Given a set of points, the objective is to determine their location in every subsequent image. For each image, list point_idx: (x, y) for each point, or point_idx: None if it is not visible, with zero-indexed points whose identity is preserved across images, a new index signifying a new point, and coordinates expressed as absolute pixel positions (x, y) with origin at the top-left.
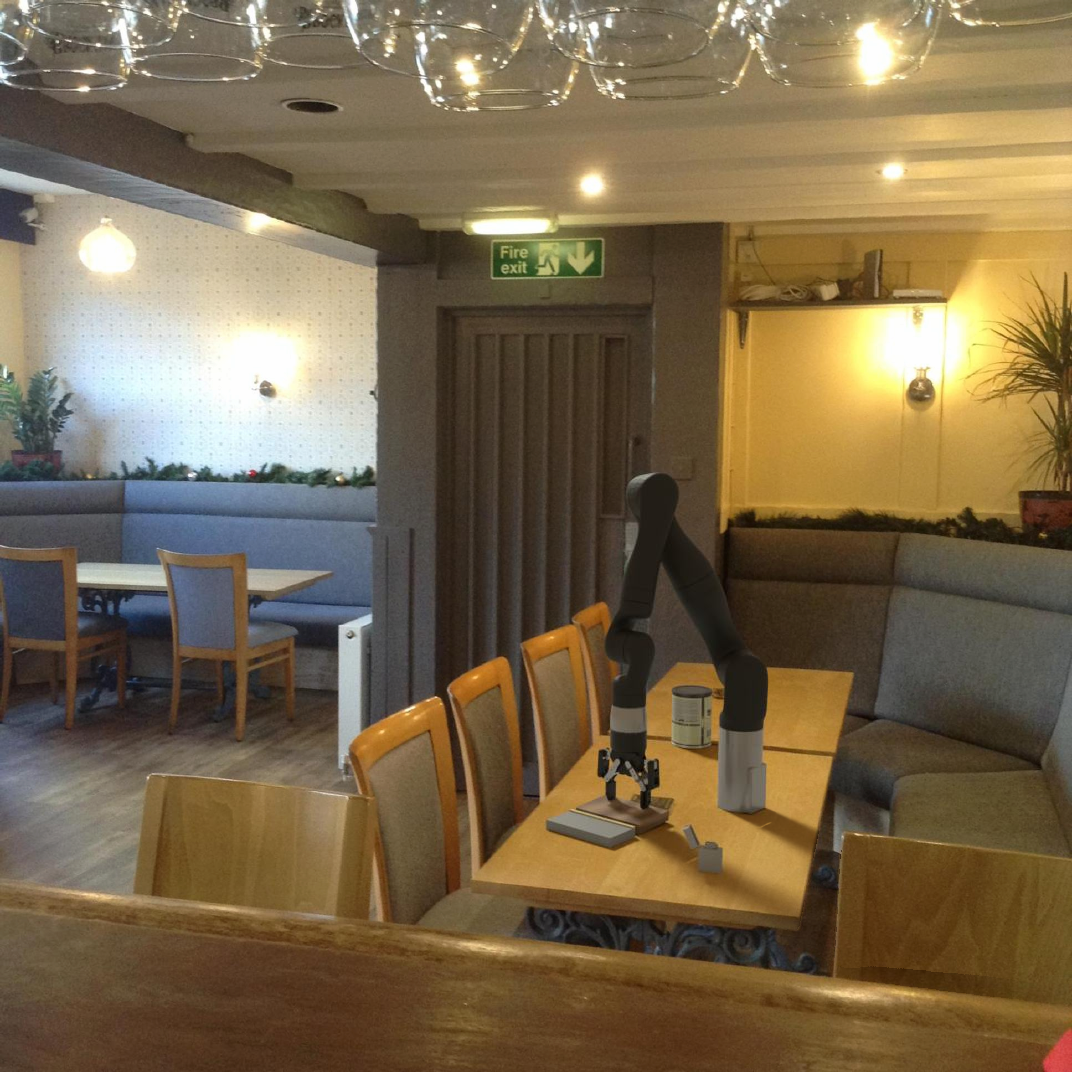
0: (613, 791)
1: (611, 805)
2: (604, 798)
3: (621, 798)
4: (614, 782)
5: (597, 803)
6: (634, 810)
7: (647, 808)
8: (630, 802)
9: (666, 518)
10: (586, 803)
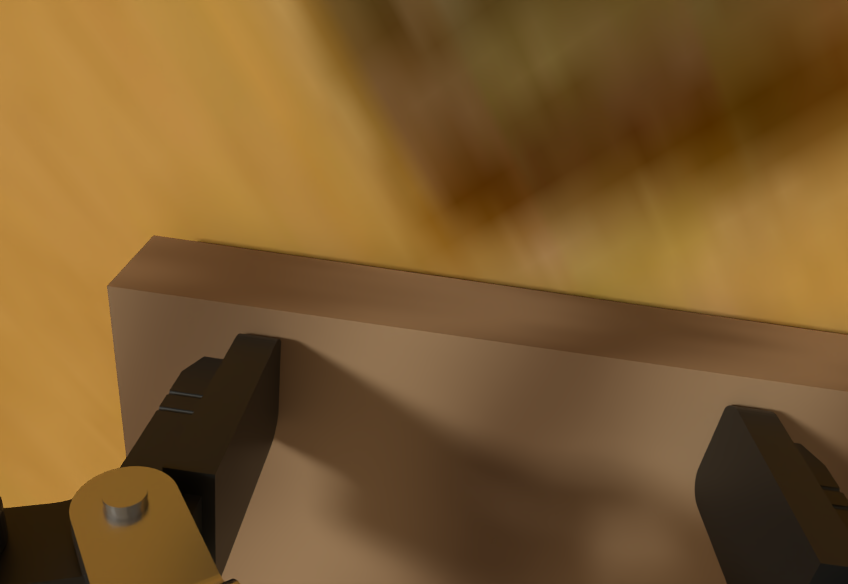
0: (257, 429)
1: (375, 516)
2: None
3: (351, 325)
4: (220, 495)
5: None
6: (649, 537)
7: None
8: (512, 386)
9: None
10: None
